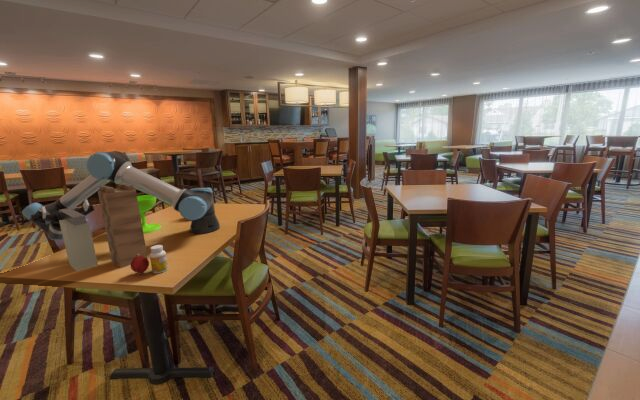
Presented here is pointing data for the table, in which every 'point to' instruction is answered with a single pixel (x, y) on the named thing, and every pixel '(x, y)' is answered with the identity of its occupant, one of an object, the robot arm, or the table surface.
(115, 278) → the table surface
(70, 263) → the rest block
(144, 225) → the wineglass
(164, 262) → the supplement bottle
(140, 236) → the stand
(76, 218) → the bar
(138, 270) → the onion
